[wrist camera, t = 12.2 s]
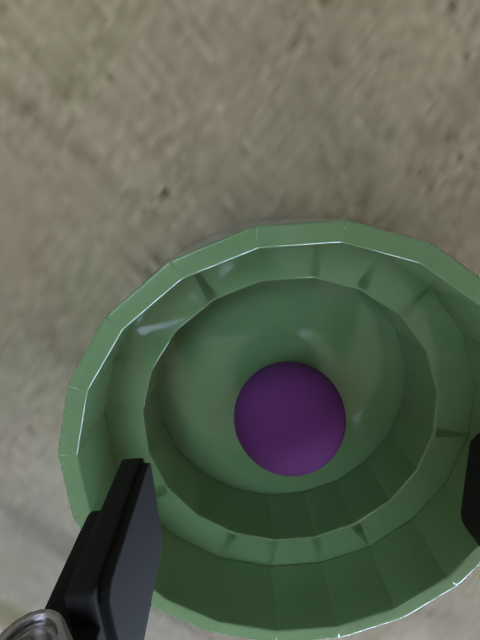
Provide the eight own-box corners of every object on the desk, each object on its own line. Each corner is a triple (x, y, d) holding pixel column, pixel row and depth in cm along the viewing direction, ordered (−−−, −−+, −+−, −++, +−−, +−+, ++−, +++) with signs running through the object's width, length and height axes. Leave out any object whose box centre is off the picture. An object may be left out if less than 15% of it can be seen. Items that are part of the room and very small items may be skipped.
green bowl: (141, 526, 20) (104, 657, 14) (89, 230, 15) (6, 242, 10) (427, 505, 20) (509, 626, 14) (455, 206, 16) (589, 202, 10)
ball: (236, 435, 18) (238, 507, 13) (230, 349, 16) (229, 398, 12) (329, 429, 18) (360, 499, 13) (329, 342, 16) (364, 388, 12)
